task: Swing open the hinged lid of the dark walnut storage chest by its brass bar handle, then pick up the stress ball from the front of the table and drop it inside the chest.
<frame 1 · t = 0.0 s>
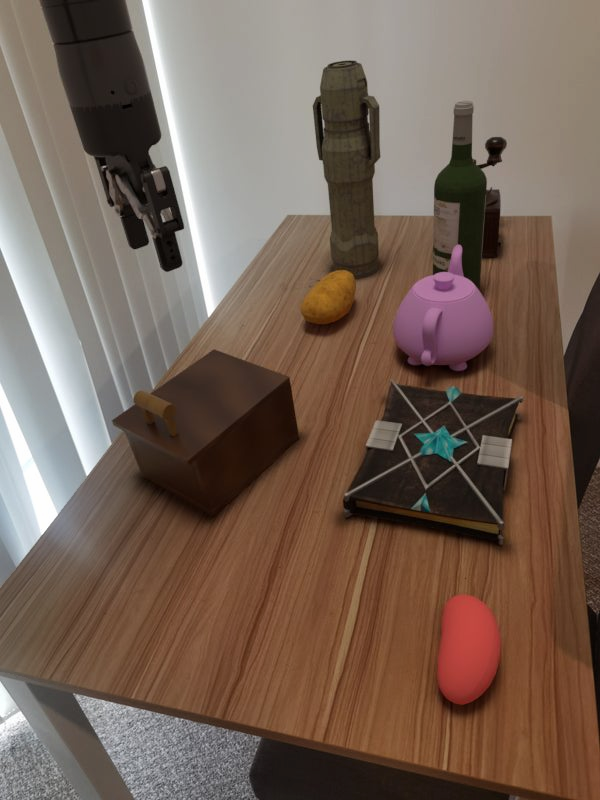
hand: (155, 257, 65), 26 cm above the table, tool pointing down, fingers open, 8 cm apart
chest: (221, 456, 77), on the table
coffee grinder: (471, 242, 119), on the table
tall handled vase: (356, 269, 115), on the table
book: (438, 465, 71), on the table
wine bottle: (455, 292, 104), on the table
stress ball: (465, 660, 52), on the table
lid: (199, 386, 70), point 12 cm above the table, hinge at 0.0°
teapot: (443, 349, 90), on the table
potato: (332, 316, 102), on the table
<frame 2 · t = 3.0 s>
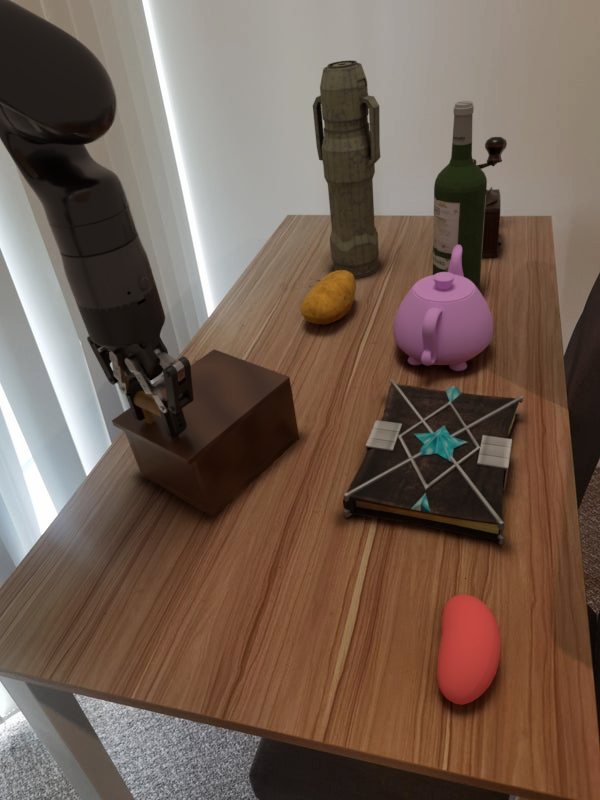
hand: (160, 423, 67), 11 cm above the table, tool pointing down, fingers closed on lid, 5 cm apart
lid: (199, 386, 70), point 12 cm above the table, hinge at 0.0°, touching gripper
everything else where it was.
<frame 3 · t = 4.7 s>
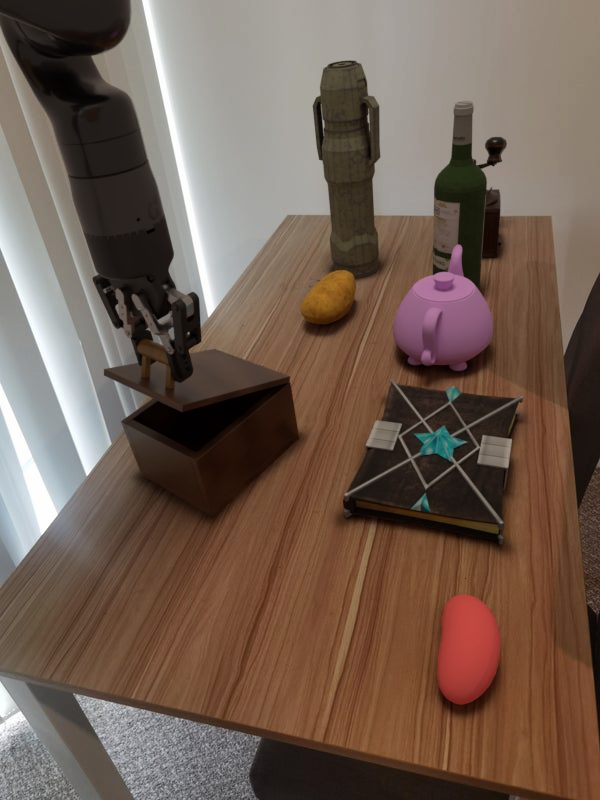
hand: (166, 370, 65), 16 cm above the table, tool pointing down, fingers closed on lid, 5 cm apart
lid: (202, 358, 69), point 15 cm above the table, hinge at 22.3°, touching gripper
everything else where it was.
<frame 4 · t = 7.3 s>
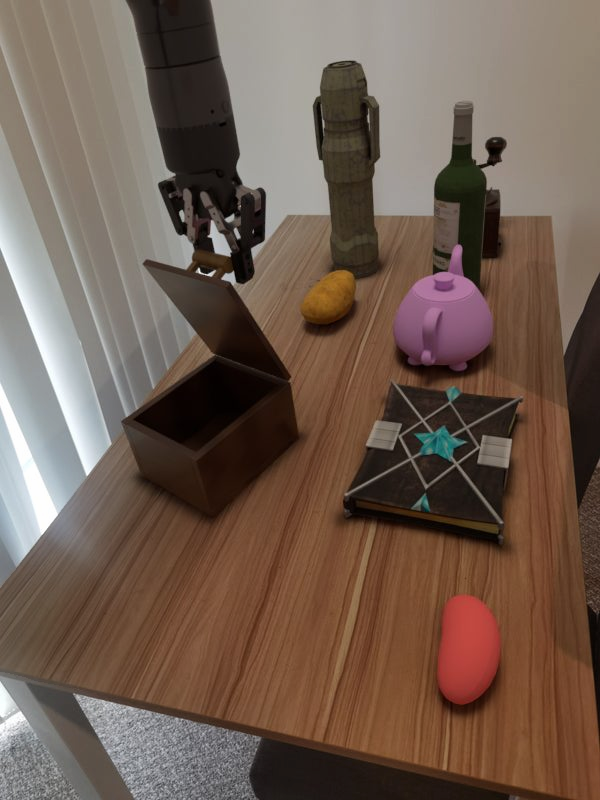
hand: (227, 275, 68), 22 cm above the table, tool pointing down, fingers closed on lid, 5 cm apart
lid: (230, 309, 70), point 18 cm above the table, hinge at 67.4°, touching gripper
everything else where it was.
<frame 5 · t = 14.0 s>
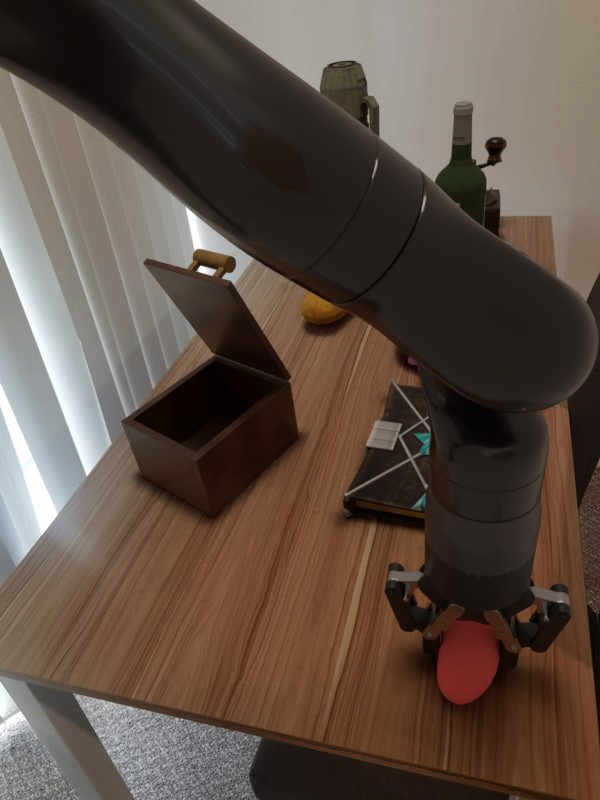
hand: (468, 656, 52), 0 cm above the table, tool pointing down, fingers closed on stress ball, 5 cm apart
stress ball: (465, 660, 52), on the table, touching gripper
lid: (230, 308, 70), point 18 cm above the table, hinge at 67.8°
everything else where it was.
when the fingers open (9 cm above the table, at t = 22.5 s): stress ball drops 5 cm, resting on chest.
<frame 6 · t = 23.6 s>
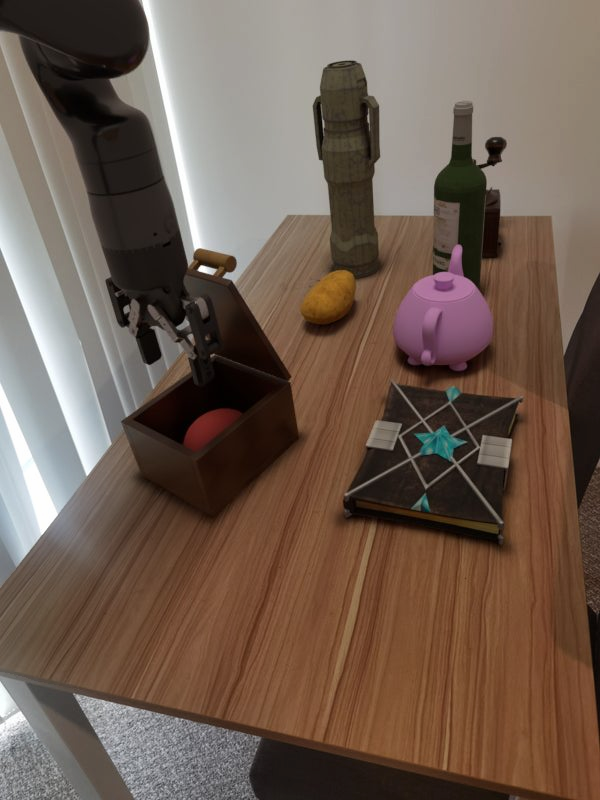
hand: (178, 371, 66), 15 cm above the table, tool pointing down, fingers open, 8 cm apart
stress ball: (225, 441, 74), point 3 cm above the table, touching chest
lid: (231, 308, 70), point 18 cm above the table, hinge at 68.2°
everything else where it was.
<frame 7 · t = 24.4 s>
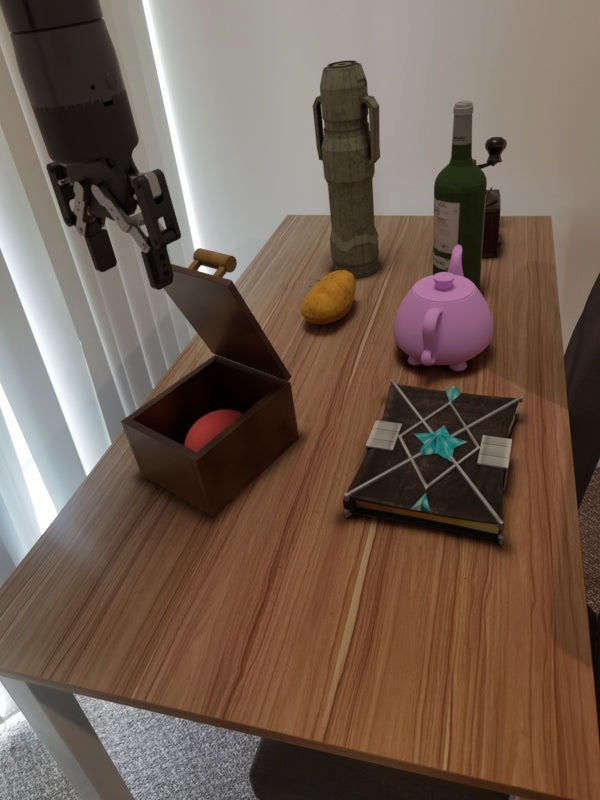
hand: (134, 277, 58), 27 cm above the table, tool pointing down, fingers open, 8 cm apart
nothing on the table moved.
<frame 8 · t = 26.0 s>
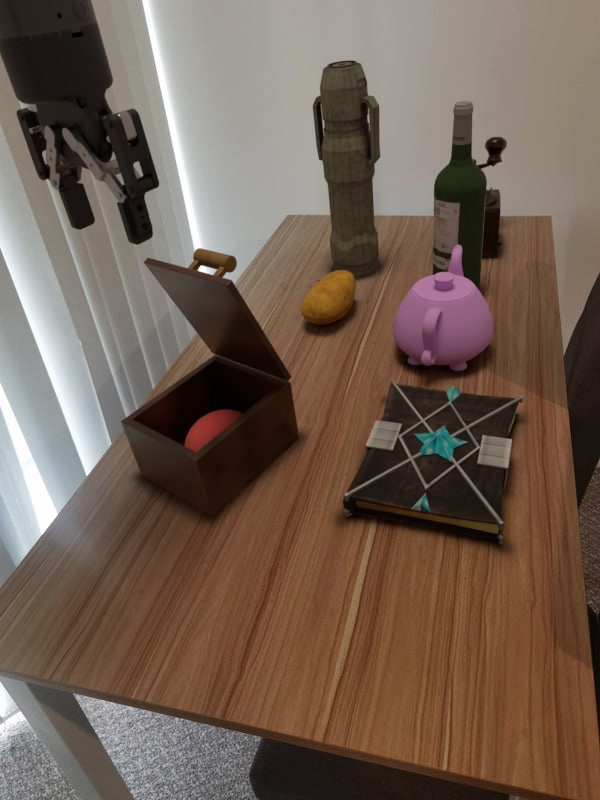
hand: (112, 233, 54), 32 cm above the table, tool pointing down, fingers open, 8 cm apart
nothing on the table moved.
at the end: lid at +68° (first picture: +0°); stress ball inside the target area in the chest (1.9 cm from its centre), point 3.2 cm above the chest's base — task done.
